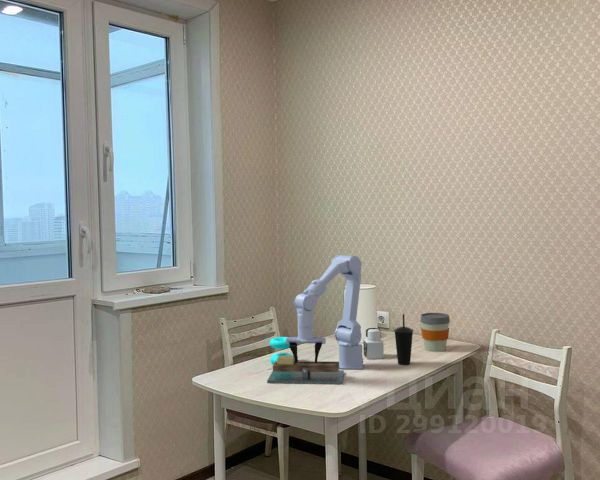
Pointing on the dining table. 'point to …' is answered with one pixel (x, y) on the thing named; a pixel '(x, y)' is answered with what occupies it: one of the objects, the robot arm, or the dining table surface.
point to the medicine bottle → (373, 344)
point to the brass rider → (286, 360)
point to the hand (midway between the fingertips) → (306, 362)
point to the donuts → (279, 347)
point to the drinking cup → (403, 344)
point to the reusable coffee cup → (435, 331)
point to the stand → (306, 377)
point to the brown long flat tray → (308, 366)
